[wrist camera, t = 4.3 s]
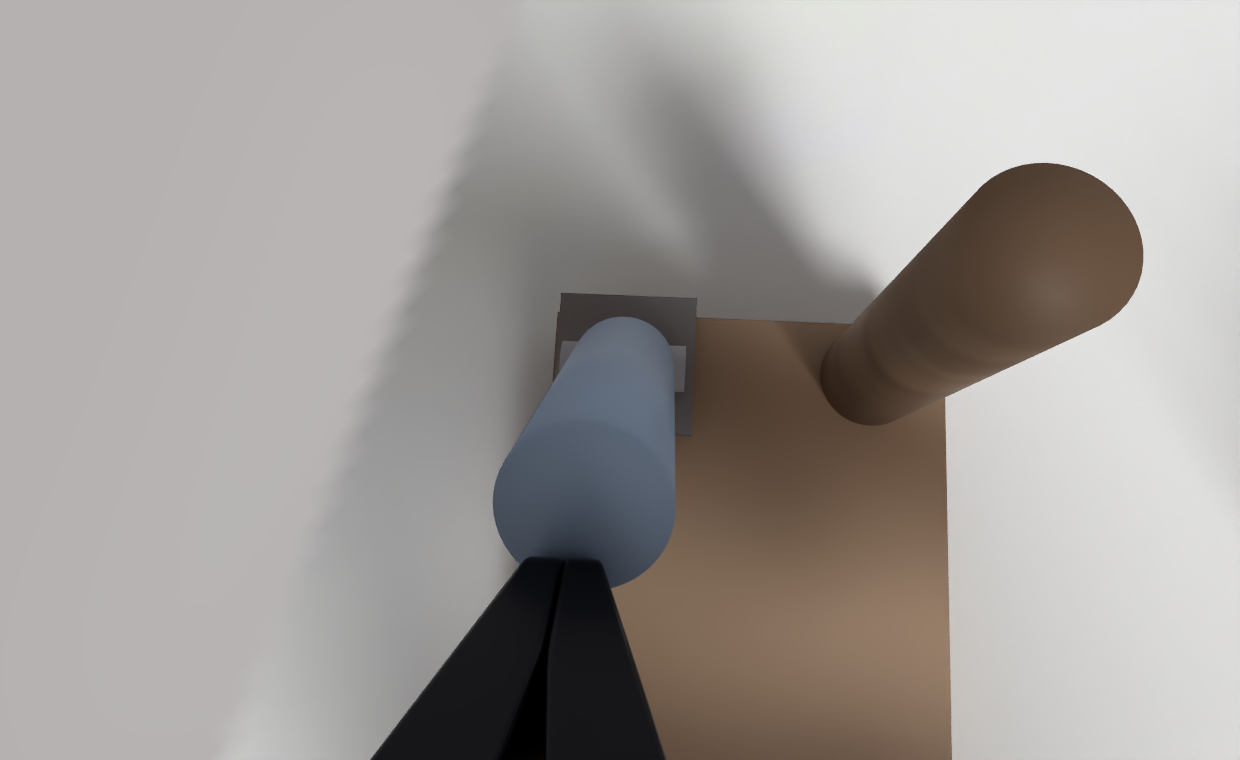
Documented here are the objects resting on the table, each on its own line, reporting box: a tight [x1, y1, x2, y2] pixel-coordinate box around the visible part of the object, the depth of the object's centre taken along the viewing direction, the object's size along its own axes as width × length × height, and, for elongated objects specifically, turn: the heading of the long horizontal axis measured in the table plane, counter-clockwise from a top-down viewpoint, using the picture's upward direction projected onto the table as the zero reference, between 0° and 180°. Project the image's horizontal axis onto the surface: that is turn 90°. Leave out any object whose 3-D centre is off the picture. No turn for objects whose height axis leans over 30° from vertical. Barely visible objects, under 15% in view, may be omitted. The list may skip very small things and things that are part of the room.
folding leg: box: [493, 317, 686, 588], centre depth 12 cm, size 2×2×8 cm
